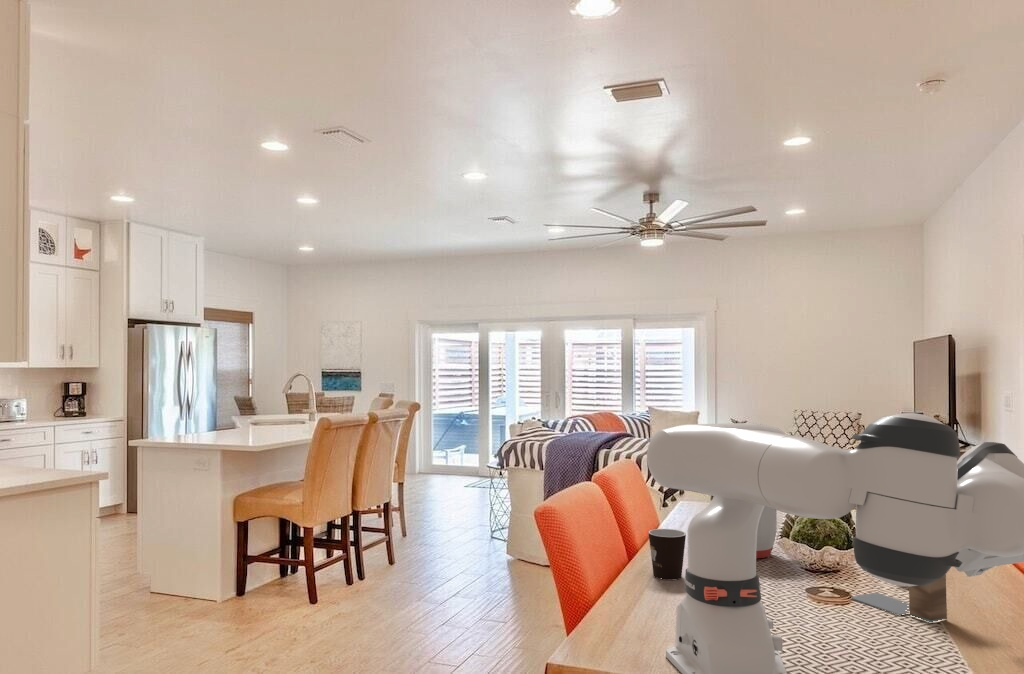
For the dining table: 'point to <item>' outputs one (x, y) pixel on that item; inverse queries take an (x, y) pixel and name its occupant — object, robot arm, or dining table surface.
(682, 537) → the coffee mug
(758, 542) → the citrus juicer
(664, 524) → the dining table surface
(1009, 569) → the dining table surface
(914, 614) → the walnut block
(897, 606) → the slate mat
